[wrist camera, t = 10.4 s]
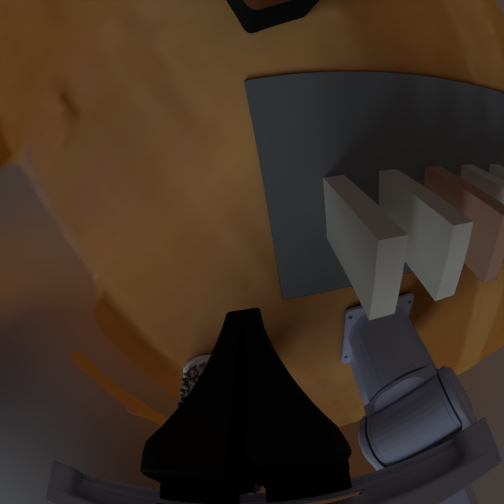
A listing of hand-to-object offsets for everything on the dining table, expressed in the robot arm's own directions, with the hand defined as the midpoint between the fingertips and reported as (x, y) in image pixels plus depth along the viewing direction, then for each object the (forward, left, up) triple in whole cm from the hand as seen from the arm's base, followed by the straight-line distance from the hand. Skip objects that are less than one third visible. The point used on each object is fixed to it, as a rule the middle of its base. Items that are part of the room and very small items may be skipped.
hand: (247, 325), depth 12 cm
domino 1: (0, -7, -10) cm, 12 cm away
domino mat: (+1, -15, -10) cm, 18 cm away
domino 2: (0, -12, -10) cm, 15 cm away
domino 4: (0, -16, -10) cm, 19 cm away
